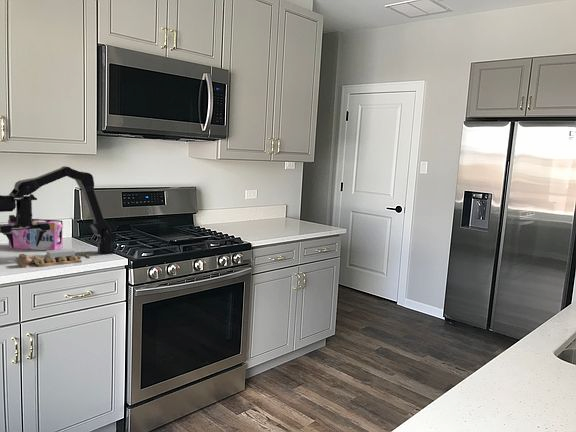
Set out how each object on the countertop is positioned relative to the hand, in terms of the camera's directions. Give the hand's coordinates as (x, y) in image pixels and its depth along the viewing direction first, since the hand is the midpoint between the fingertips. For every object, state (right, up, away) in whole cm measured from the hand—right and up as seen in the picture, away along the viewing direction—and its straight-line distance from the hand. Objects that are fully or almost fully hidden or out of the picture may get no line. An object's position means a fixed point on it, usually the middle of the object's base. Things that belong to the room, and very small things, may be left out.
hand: (24, 247), depth 203 cm
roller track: (+10, -6, +7) cm, 13 cm away
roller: (0, -7, +1) cm, 7 cm away
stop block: (+2, -7, -5) cm, 9 cm away
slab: (+13, -4, +4) cm, 14 cm away
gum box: (-10, -2, +28) cm, 29 cm away
